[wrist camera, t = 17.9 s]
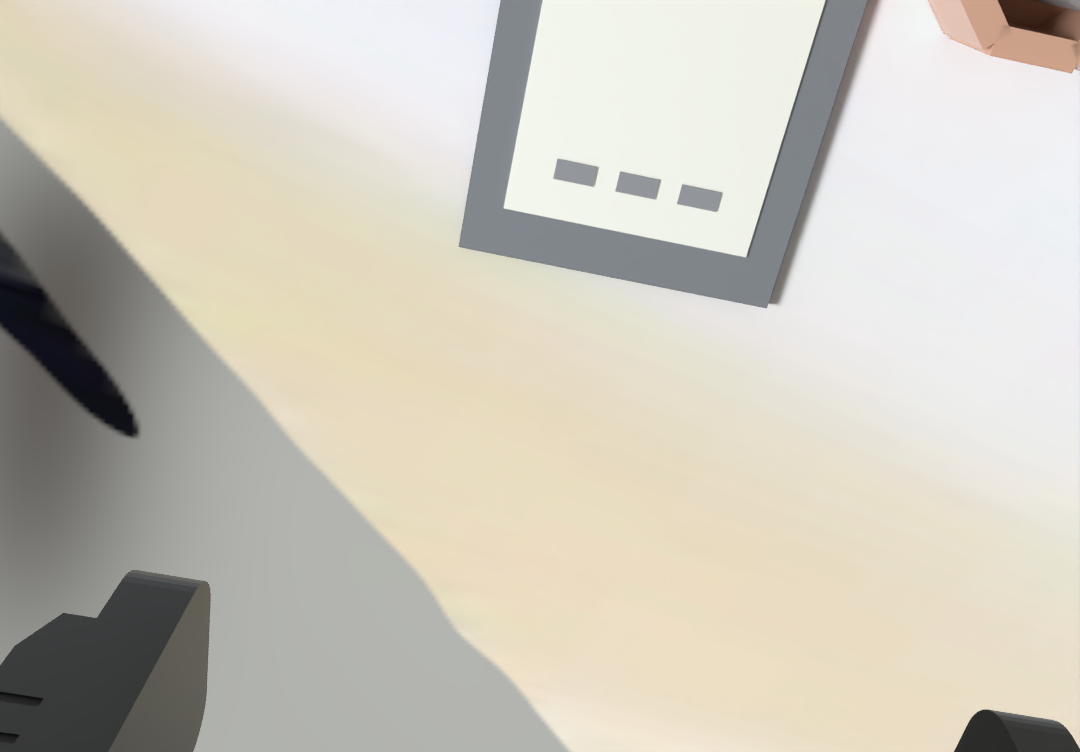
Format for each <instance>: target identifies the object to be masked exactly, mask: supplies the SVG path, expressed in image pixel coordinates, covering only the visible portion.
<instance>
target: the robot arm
mask: <svg viewBox="0 0 1080 752" xmlns="http://www.w3.org/2000/svg"><path fill="white" fill-rule="evenodd" d="M209 623H210V587H209V584H208V582H206V581H200V580H194V579H188V578H182V577H176V576H169V575H163V574H157V573H151V572H145V571H138V570H132V571H130V572H128V573H127V574H126V576H125V577H124V578H123V579H122V581H121V582H120V584H119V585H118V587H117V588H116V590H115V591H114V593H113V594H112V596H111V598H110V599H109V600H108V602H107V603H106V605H105V606H104V608H103V609H102V611H101V613H100V614H99V616H98V617H97V618H92V617H86V616H79V615H73V614H66V613H63V614H61V615H60V616H58V617H57V618H55V619H54V620H52V621H51V622H49V623H48V624H47V625H45V626H43V627H42V628H41V629H39V630H38V631H36V632H35V633H33V634H32V635H30V636H29V637H27V638H26V639H24V640H23V641H21V642H20V643H18V644H17V645H16V646H14V648H13V649H12V650H11V652H10V653H9V654H8V656H7V657H6V658H5V660H4V661H3V663H2V664H1V665H0V752H193V750H194V748H195V745H196V742H197V738H198V735H199V731H200V727H201V723H202V719H203V714H204V709H205V702H206V693H207V669H208V647H209ZM954 752H1080V749H1079V747H1078V745H1077V744H1076V742H1075V740H1074V738H1073V737H1072V735H1071V734H1070V732H1069V731H1068V730H1067V729H1066V728H1065V727H1064V726H1063V725H1062V724H1061V723H1059V722H1057V721H1054V720H1049V719H1043V718H1036V717H1030V716H1024V715H1018V714H1012V713H1005V712H999V711H993V710H981V711H979V712H977V713H976V714H975V715H974V716H973V717H972V718H971V720H970V721H969V723H968V725H967V727H966V729H965V731H964V733H963V735H962V737H961V739H960V741H959V743H958V745H957V747H956V749H955V751H954Z"/></svg>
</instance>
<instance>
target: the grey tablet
mask: <svg viewBox="0 0 1080 752" xmlns="http://www.w3.org/2000/svg"><path fill="white" fill-rule="evenodd" d="M866 3H867V0H501V2H500V8H499V14H498V19H497V25H496V31H495V37H494V43H493V49H492V55H491V60H490V66H489V72H488V78H487V84H486V90H485V96H484V102H483V107H482V113H481V119H480V125H479V131H478V137H477V143H476V148H475V154H474V160H473V166H472V172H471V178H470V184H469V189H468V195H467V201H466V207H465V213H464V219H463V225H462V231H461V236H460V242H459V247H462V248H467V249H472V250H477V251H482V252H487V253H492V254H497V255H502V256H507V257H512V258H517V259H522V260H527V261H532V262H537V263H542V264H547V265H552V266H557V267H562V268H567V269H572V270H577V271H582V272H587V273H592V274H597V275H602V276H607V277H612V278H617V279H622V280H627V281H632V282H637V283H642V284H647V285H652V286H657V287H662V288H667V289H672V290H677V291H683V292H688V293H693V294H698V295H703V296H708V297H713V298H718V299H723V300H728V301H733V302H738V303H743V304H748V305H753V306H758V307H763V308H767V306H768V303H769V300H770V297H771V294H772V291H773V288H774V285H775V282H776V278H777V275H778V272H779V269H780V266H781V263H782V260H783V257H784V254H785V251H786V248H787V245H788V242H789V239H790V236H791V233H792V230H793V227H794V223H795V220H796V217H797V214H798V211H799V208H800V205H801V202H802V199H803V196H804V193H805V190H806V187H807V184H808V181H809V178H810V175H811V172H812V168H813V165H814V162H815V159H816V156H817V153H818V150H819V147H820V144H821V141H822V138H823V135H824V132H825V129H826V126H827V123H828V120H829V117H830V113H831V110H832V107H833V104H834V101H835V98H836V95H837V92H838V89H839V86H840V83H841V80H842V77H843V74H844V71H845V68H846V65H847V62H848V58H849V55H850V52H851V49H852V46H853V43H854V40H855V37H856V34H857V31H858V28H859V25H860V22H861V19H862V16H863V13H864V10H865V6H866Z"/></svg>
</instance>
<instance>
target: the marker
mask: <svg viewBox="0 0 1080 752" xmlns="http://www.w3.org/2000/svg"><path fill="white" fill-rule="evenodd" d="M1034 1H1038V2H1042V3H1046V4H1051V5H1055V6H1059V7H1063V8H1067V9H1071V10H1075V11H1079V12H1080V0H1034Z"/></svg>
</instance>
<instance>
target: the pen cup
mask: <svg viewBox="0 0 1080 752" xmlns="http://www.w3.org/2000/svg"><path fill="white" fill-rule="evenodd" d="M928 1H929V4H930V6H931V8H932V10H933V12H934V14H935V16H936V18H937V21H938V23H939V25H940V27H941V29H942V31H943V33H944V34H946V35H948V36H950V39H952V40H955V41H957V42H959V43H962V44H964V45H966V46H969V47H971V48H973V49H976V50H978V51H980V52H983V53H985V54H988V55H990V56H995V57H999V58H1004V59H1008V60H1013V61H1017V62H1022V63H1027V64H1031V65H1036V66H1040V67H1045V68H1050V69H1054V70H1059V71H1063V72H1068V73H1072V72H1073V70H1074V69H1076V70H1079V71H1080V12H1079V11H1075V10H1071V9H1067V8H1063V7H1059V6H1055V5H1051V4H1046V3H1042V2H1038V1H1034V0H928Z"/></svg>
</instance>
